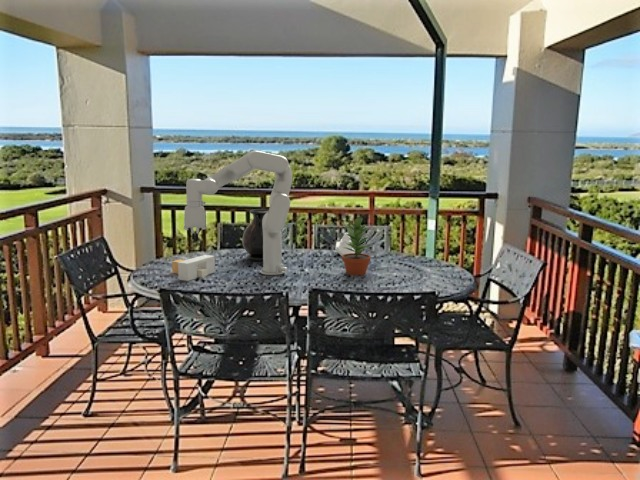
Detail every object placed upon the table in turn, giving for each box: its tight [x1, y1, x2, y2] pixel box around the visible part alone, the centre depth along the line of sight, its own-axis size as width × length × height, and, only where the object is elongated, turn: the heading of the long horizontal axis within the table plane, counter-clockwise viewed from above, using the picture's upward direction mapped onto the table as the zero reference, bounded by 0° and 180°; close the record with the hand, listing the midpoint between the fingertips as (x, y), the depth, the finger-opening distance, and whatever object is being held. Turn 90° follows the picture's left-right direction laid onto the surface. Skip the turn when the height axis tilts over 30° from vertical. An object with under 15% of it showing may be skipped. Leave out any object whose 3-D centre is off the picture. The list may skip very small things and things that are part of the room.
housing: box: [178, 254, 216, 282], centre depth 269 cm, size 6×20×8 cm, turn 151°
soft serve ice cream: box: [334, 231, 355, 257], centre depth 323 cm, size 12×15×14 cm
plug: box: [171, 258, 208, 278], centre depth 272 cm, size 20×6×6 cm, turn 59°
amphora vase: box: [241, 208, 269, 262], centre depth 306 cm, size 22×22×28 cm
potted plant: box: [342, 217, 371, 276], centre depth 277 cm, size 15×15×30 cm
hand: (195, 240), depth 267 cm, fingers closed
